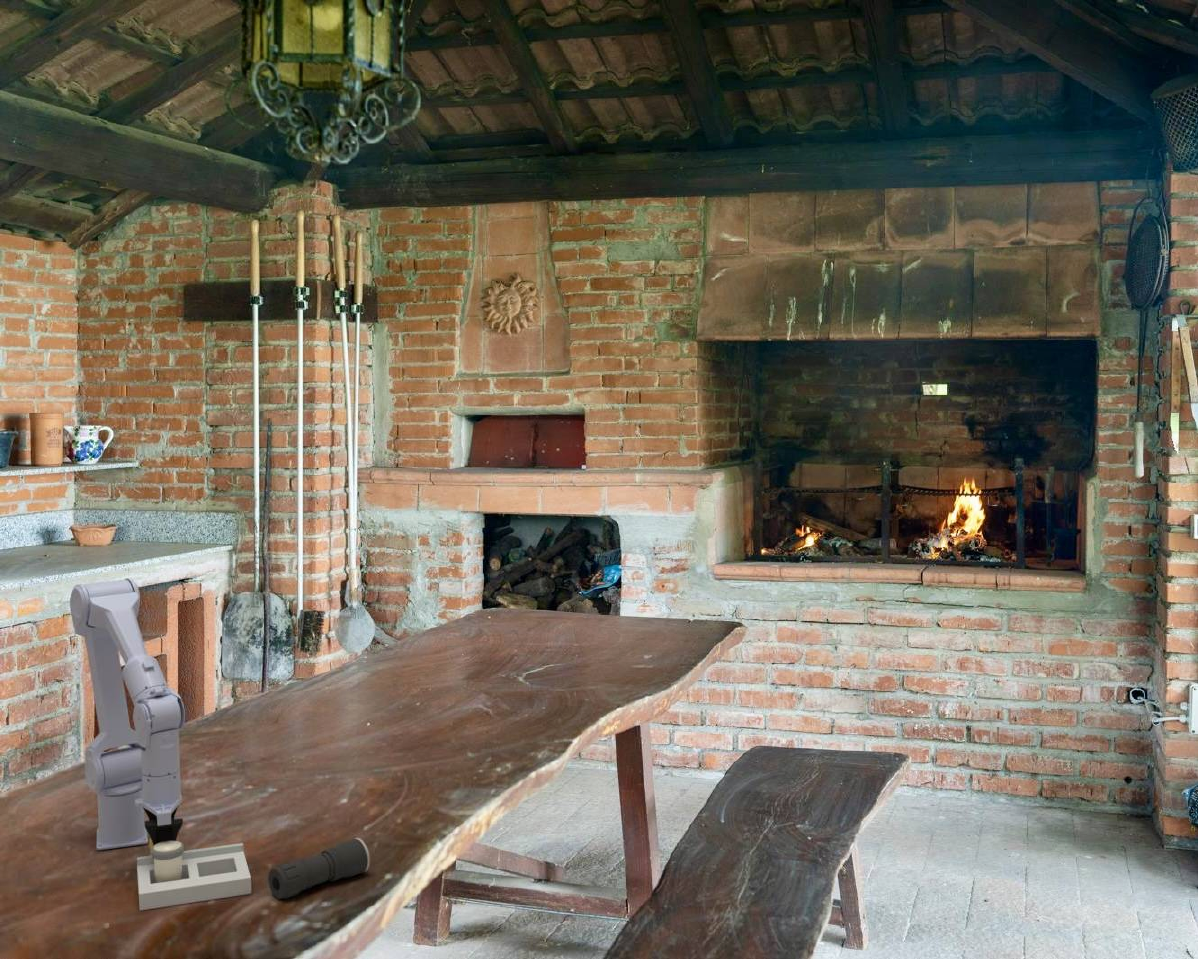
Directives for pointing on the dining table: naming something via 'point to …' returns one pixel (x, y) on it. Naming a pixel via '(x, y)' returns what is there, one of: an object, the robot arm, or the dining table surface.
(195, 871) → the housing
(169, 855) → the cream grey-rimmed peg
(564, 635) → the dining table surface
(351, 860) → the flashlight
